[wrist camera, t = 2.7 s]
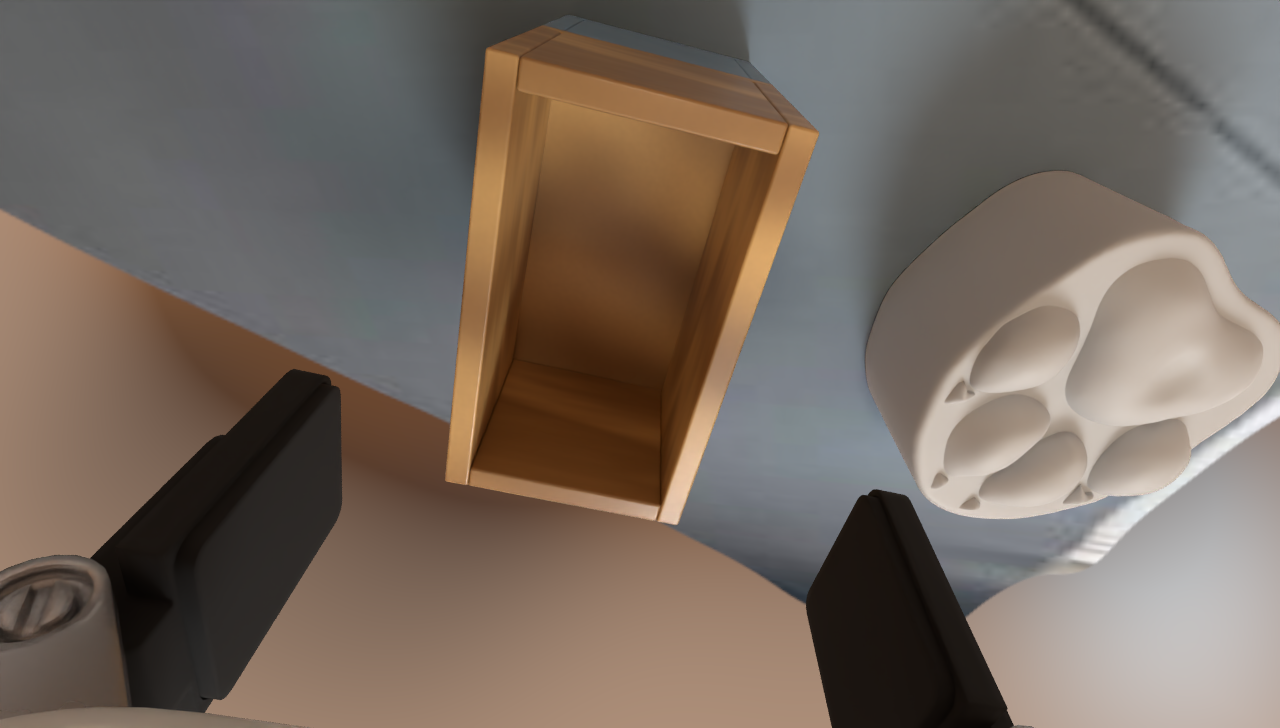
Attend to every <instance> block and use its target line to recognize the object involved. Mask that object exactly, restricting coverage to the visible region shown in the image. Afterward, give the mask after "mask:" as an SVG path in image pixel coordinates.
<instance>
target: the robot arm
mask: <svg viewBox="0 0 1280 728" xmlns="http://www.w3.org/2000/svg"><path fill="white" fill-rule="evenodd" d="M340 395H341V394H340V389H339V388H338V387H336V386H331V380H330V378H329V377H328V376H325V375H320V374H315V373H311V372H306V371H301V370H296V369H293V370H290V371H289V372H288V373H286V374H285V375H284V376H283V377H282V378H281V379H280V380H279V381H278V382H277V383H276V384H275V385H274V386H273V388H271V389H270V390H269V391H268V392H267V393H266V394H265V395H264V396H263V397H262V398H261V399H260V401H259V402H258V403H257V404H256V405H255V406H254V407H253V408H252V409H251V410H250V411H249V412H248V413H247V414H246V415H245V416H244V417H243V418H242V419H241V420H240V421H239V422H238V423H237V424H236V425H235V426H234V427H233V428H232V429H231V430H230V431H229V432H228V433H227V434H226V435H220V436H216V437H214V438H213V439H211V440H210V441H209V442H207V443H206V444H205V445H204V446H203V447H202V448H201V449H200V450H199V451H198V452H197V453H196V454H195V455H194V456H193V457H192V458H191V459H190V460H189V461H188V462H187V463H186V464H185V465H184V466H183V467H182V468H181V469H180V470H179V471H178V472H177V473H176V474H175V475H174V476H173V477H172V478H171V479H170V480H169V481H168V482H167V483H166V484H165V485H164V486H163V487H162V488H161V489H160V490H159V491H158V492H157V493H156V494H155V495H154V496H153V497H152V498H151V499H149V501H148V502H147V503H146V504H144V506H142V507H141V508H140V509H139V510H138V511H137V512H136V513H135V514H134V515H133V516H132V517H131V518H130V519H129V520H128V521H127V522H126V523H125V524H124V525H123V526H122V527H121V528H120V529H119V530H118V531H117V532H116V533H115V534H114V535H113V536H112V537H111V538H110V539H109V540H108V541H107V542H106V543H105V544H104V545H103V546H102V547H101V548H100V549H99V550H98V551H97V552H96V553H95V554H94V555H93V556H92V557H91V558H90V559H89V558H85V557H81V556H78V555H54V556H48V557H42V558H36V559H31V560H28V561H26V562H23V563H20V564H17V565H14V566H11V567H8V568H6V569H4V570H3V571H1V572H0V728H308V727H301V726H293V725H287V724H280V723H273V722H265V721H259V720H251V719H244V718H237V717H230V716H223V715H216V714H209V713H205V711H206V710H207V708H208V707H209V705H210V704H211V702H212V700H213V699H217V700H222V699H224V698H225V697H226V696H227V695H228V694H229V692H230V691H231V690H232V688H233V686H234V685H235V683H236V682H237V680H238V678H239V677H240V675H241V674H242V672H243V671H244V669H245V667H246V666H247V664H248V662H249V661H250V659H251V657H252V656H253V654H254V653H255V651H256V650H257V648H258V646H259V645H260V643H261V641H262V640H263V638H264V637H265V635H266V634H267V632H268V630H269V629H270V627H271V626H272V624H273V622H274V621H275V619H276V617H277V616H278V614H279V613H280V611H281V609H282V608H283V606H284V605H285V603H286V601H287V600H288V598H289V597H290V595H291V593H292V592H293V590H294V589H295V587H296V585H297V584H298V582H299V581H300V579H301V577H302V576H303V574H304V572H305V571H306V569H307V568H308V566H309V564H310V563H311V561H312V560H313V558H314V556H315V555H316V553H317V552H318V550H319V548H320V547H321V545H322V544H323V542H324V540H325V539H326V537H327V536H328V534H329V532H330V530H331V529H332V528H333V526H334V524H335V523H336V521H337V518H338V516H339V513H340V510H341V505H342V468H341V467H342V465H341V396H340ZM806 610H807V616H808V620H809V625H810V629H811V634H812V639H813V643H814V647H815V652H816V657H817V661H818V666H819V670H820V675H821V680H822V684H823V689H824V693H825V698H826V703H827V707H828V712H829V716H830V721H831V725H832V728H1034V727H1031V726H1020V725H1017V726H1014V725H1013V723H1012V721H1011V719H1010V716H1009V714H1008V712H1007V706H1006V704H1005V702H1004V700H1003V698H1002V695H1001V693H1000V691H999V689H998V687H997V685H996V683H995V681H994V678H993V676H992V674H991V672H990V670H989V668H988V666H987V663H986V661H985V659H984V657H983V655H982V653H981V651H980V648H979V646H978V644H977V642H976V640H975V638H974V636H973V634H972V631H971V629H970V627H969V625H968V623H967V621H966V618H965V616H964V614H963V612H962V610H961V608H960V606H959V604H958V601H957V599H956V597H955V595H954V593H953V591H952V589H951V586H950V584H949V582H948V580H947V578H946V576H945V574H944V571H943V569H942V567H941V565H940V563H939V561H938V559H937V557H936V554H935V552H934V550H933V548H932V546H931V544H930V542H929V539H928V537H927V535H926V533H925V531H924V529H923V527H922V524H921V522H920V520H919V518H918V516H917V514H916V512H915V510H914V507H913V505H912V503H911V501H910V500H909V498H908V497H907V496H905V495H901V494H897V493H892V492H887V491H882V490H877V489H876V490H872V491H871V492H870V493H869V494H868V496H867V495H862V496H860V497H859V498H858V500H857V502H856V503H855V505H854V507H853V509H852V511H851V513H850V515H849V517H848V518H847V520H846V522H845V524H844V526H843V528H842V530H841V532H840V533H839V535H838V537H837V539H836V541H835V543H834V545H833V547H832V548H831V550H830V552H829V554H828V556H827V558H826V560H825V562H824V563H823V565H822V567H821V569H820V571H819V573H818V575H817V577H816V578H815V580H814V582H813V584H812V586H811V588H810V590H809V592H808V595H807V601H806Z"/></svg>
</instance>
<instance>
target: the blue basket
mask: <svg viewBox="0 0 1280 728" xmlns="http://www.w3.org/2000/svg"><path fill="white" fill-rule="evenodd" d="M544 26H548V27H552V28H556V29H560V30H564V31H568V32H571V33H575V34H579V35H583V36H587V37H591V38H595V39H598V40H602V41H606V42H610V43H614V44H618V45H622V46H626V47H629V48H633V49H637V50H641V51H645V52H649V53H653V54H656V55H660V56H664V57H668V58H672V59H676V60H680V61H684V62H687V63H691V64H695V65H699V66H703V67H707V68H711V69H715V70H718V71H722V72H726V73H730V74H734V75H738V76H742V77H745V78H749V79H753V80H757V81H761V82H765V83H769V84H771V83H770V82H769V81H768V80H767V79H766V78H765V77H764V76H763V75H762V74H761V73H760V72H759V71H758V70H757V69H756V68H755V67H754V66H753V65H752V64H751V63H750V62H748V61H744V60H741V59H737V58H733V57H729V56H725V55H721V54H718V53H714V52H710V51H706V50H702V49H698V48H695V47H691V46H687V45H683V44H679V43H675V42H672V41H668V40H664V39H660V38H656V37H652V36H649V35H645V34H641V33H637V32H633V31H629V30H626V29H622V28H618V27H614V26H610V25H606V24H603V23H599V22H595V21H591V20H587V19H583V18H580V17H576V16H572V15H566V16H564V17H561V18H559V19H556V20H554V21H551V22H549V23H547V24H544Z"/></svg>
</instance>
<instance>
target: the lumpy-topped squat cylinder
mask: <svg viewBox="0 0 1280 728" xmlns="http://www.w3.org/2000/svg"><path fill="white" fill-rule="evenodd" d="M865 368H866V378H867V383H868V387H869V390H870V392H871V395H872V397H873V399H874V401H875V403H876V405H877V407H878V409H879V411H880V413H881V415H882V417H883V419H884V421H885V423H886V425H887V427H888V429H889V431H890V433H891V435H892V437H893V439H894V441H895V443H896V445H897V447H898V449H899V451H900V453H901V455H902V457H903V459H904V461H905V463H906V465H907V467H908V469H909V470H910V472H911V474H912V476H913V478H914V480H915V482H916V484H917V486H918V488H919V489H920V491H921V492H922V494H923V495H924V496H925V497H926V498H927V499H928V500H929V501H931V502H932V503H933V504H935V505H936V506H938V507H940V508H941V509H944V510H946V511H949V512H952V513H955V514H958V515H963V516H969V517H976V518H991V519H1015V518H1025V517H1032V516H1037V515H1043V514H1048V513H1053V512H1057V511H1061V510H1065V509H1069V508H1073V507H1077V506H1081V505H1085V504H1089V503H1092V502H1095V501H1098V500H1100V499H1103V498H1105V497H1107V496H1109V495H1110V496H1136V495H1144V494H1149V493H1152V492H1155V491H1158V490H1160V489H1162V488H1164V487H1166V486H1167V485H1169V484H1171V483H1172V482H1173V481H1174V480H1176V479H1177V478H1178V477H1179V476H1180V475H1181V473H1182V472H1183V471H1184V470H1185V468H1186V467H1187V465H1188V463H1189V460H1190V457H1191V449H1192V448H1194V447H1195V446H1197V445H1198V444H1199V443H1201V442H1202V441H1203V440H1205V439H1206V438H1208V437H1209V436H1211V435H1212V434H1214V433H1216V432H1217V431H1219V430H1220V429H1222V428H1223V427H1225V426H1226V425H1227V424H1229V423H1230V422H1231V421H1233V420H1234V419H1236V418H1237V417H1239V416H1240V415H1241V414H1243V413H1244V412H1245V411H1246V410H1247V409H1249V408H1250V407H1251V406H1252V405H1253V404H1255V403H1256V402H1257V401H1258V400H1259V399H1261V398H1262V397H1263V396H1264V395H1265V393H1266V392H1267V391H1268V390H1269V388H1270V387H1271V385H1272V384H1273V383H1274V381H1275V379H1276V377H1277V375H1278V373H1279V371H1280V323H1279V322H1278V321H1277V320H1276V319H1275V317H1274V316H1273V315H1271V314H1270V313H1269V312H1268V311H1266V310H1265V309H1263V308H1262V307H1260V306H1259V305H1258V304H1256V303H1255V302H1253V301H1252V300H1250V299H1249V298H1248V297H1246V296H1245V295H1244V294H1243V293H1242V292H1241V291H1240V290H1239V289H1238V287H1237V286H1236V284H1235V283H1234V281H1233V279H1232V277H1231V275H1230V273H1229V270H1228V268H1227V266H1226V264H1225V261H1224V258H1223V257H1222V255H1221V253H1220V252H1219V250H1218V249H1217V247H1216V246H1215V245H1214V243H1213V242H1212V241H1211V240H1210V239H1209V238H1207V237H1206V236H1205V235H1204V234H1202V233H1200V232H1198V231H1196V230H1194V229H1192V228H1190V227H1187V226H1185V225H1183V224H1181V223H1179V222H1177V221H1176V220H1174V219H1172V218H1170V217H1168V216H1166V215H1163V214H1161V213H1159V212H1157V211H1155V210H1153V209H1151V208H1148V207H1146V206H1144V205H1142V204H1140V203H1138V202H1135V201H1133V200H1131V199H1129V198H1127V197H1125V196H1123V195H1121V194H1119V193H1117V192H1115V191H1112V190H1110V189H1108V188H1106V187H1104V186H1102V185H1100V184H1098V183H1096V182H1094V181H1092V180H1090V179H1087V178H1085V177H1083V176H1081V175H1079V174H1077V173H1074V172H1069V171H1048V172H1042V173H1037V174H1033V175H1030V176H1027V177H1024V178H1022V179H1019V180H1017V181H1015V182H1013V183H1011V184H1009V185H1007V186H1006V187H1004V188H1002V189H1001V190H999V191H998V192H996V193H995V194H993V195H992V196H990V197H989V198H988V199H986V200H985V201H984V202H982V203H981V204H980V205H979V206H977V207H976V208H975V209H973V210H972V211H971V212H970V213H968V214H967V215H966V216H964V217H963V218H962V219H960V220H959V221H958V222H957V223H955V224H954V225H953V226H952V227H950V228H949V229H948V230H947V231H946V232H945V233H943V234H942V235H941V236H940V237H939V238H938V239H937V240H935V241H934V242H933V243H932V244H931V245H930V246H929V247H928V248H927V249H926V250H925V251H924V252H923V253H922V254H921V255H919V256H918V257H917V258H916V259H915V260H914V261H913V262H912V263H911V264H910V265H909V266H908V267H907V268H906V270H905V271H904V272H903V273H902V274H901V275H900V276H899V277H898V278H897V280H896V281H895V282H894V283H893V285H892V286H891V287H890V289H889V290H888V292H887V294H886V296H885V298H884V300H883V302H882V304H881V306H880V309H879V311H878V314H877V316H876V319H875V321H874V324H873V327H872V330H871V333H870V336H869V339H868V343H867V348H866V355H865Z"/></svg>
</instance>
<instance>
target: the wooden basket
mask: <svg viewBox="0 0 1280 728" xmlns="http://www.w3.org/2000/svg"><path fill="white" fill-rule="evenodd" d="M818 136H819V132H818V131H817V130H816V129H815V128H814V127H813V126H812V125H811V124H810V123H809V122H808V121H807V120H806V119H805V118H804V117H803V116H802V115H801V113H800V112H799V111H798V110H797V109H796V108H795V107H794V106H793V105H792V104H791V103H790V102H789V101H788V100H787V99H786V98H785V97H784V96H783V95H782V94H781V93H780V92H779V91H778V90H777V89H776V88H775V87H774V86H773V85H772V84H769V83H765V82H761V81H757V80H753V79H749V78H745V77H742V76H738V75H734V74H730V73H726V72H722V71H718V70H715V69H711V68H707V67H703V66H699V65H695V64H691V63H687V62H684V61H680V60H676V59H672V58H668V57H664V56H660V55H656V54H653V53H649V52H645V51H641V50H637V49H633V48H629V47H626V46H622V45H618V44H614V43H610V42H606V41H602V40H598V39H595V38H591V37H587V36H583V35H579V34H575V33H571V32H568V31H564V30H560V29H556V28H552V27H548V26H544V25H542V26H539V27H537V28H534V29H532V30H529V31H527V32H524V33H522V34H520V35H517V36H515V37H512V38H510V39H507V40H505V41H502V42H500V43H498V44H495V45H493V46H490V47H488V48H487V49H486V53H485V64H484V74H483V85H482V95H481V106H480V116H479V127H478V137H477V148H476V159H475V169H474V180H473V190H472V201H471V211H470V222H469V232H468V243H467V253H466V264H465V274H464V285H463V295H462V306H461V316H460V327H459V337H458V348H457V358H456V369H455V380H454V390H453V401H452V411H451V422H450V432H449V443H448V453H447V464H446V475H445V480H446V481H448V482H454V483H458V484H464V485H467V484H468V483H469V485H471V486H476V487H480V488H486V489H491V490H496V491H501V492H506V493H512V494H518V495H522V496H528V497H533V498H538V499H543V500H548V501H553V502H559V503H564V504H569V505H574V506H580V507H585V508H590V509H595V510H601V511H606V512H611V513H616V514H621V515H627V516H632V517H637V518H642V519H648V520H653V521H654V520H656V519H657V521H658V522H663V523H668V524H673V525H677V524H678V523H679V520H680V518H681V515H682V512H683V509H684V507H685V504H686V501H687V498H688V495H689V493H690V490H691V487H692V484H693V482H694V479H695V476H696V473H697V471H698V468H699V465H700V462H701V460H702V457H703V454H704V451H705V448H706V446H707V443H708V440H709V437H710V435H711V432H712V429H713V426H714V424H715V421H716V418H717V415H718V413H719V410H720V407H721V404H722V401H723V399H724V396H725V393H726V390H727V388H728V385H729V382H730V379H731V377H732V374H733V371H734V368H735V365H736V363H737V360H738V357H739V354H740V352H741V349H742V346H743V343H744V341H745V338H746V335H747V332H748V330H749V327H750V324H751V321H752V318H753V316H754V313H755V310H756V307H757V305H758V302H759V299H760V296H761V294H762V291H763V288H764V285H765V283H766V280H767V277H768V274H769V271H770V269H771V266H772V263H773V260H774V258H775V255H776V252H777V249H778V247H779V244H780V241H781V238H782V235H783V233H784V230H785V227H786V224H787V222H788V219H789V216H790V213H791V211H792V208H793V205H794V202H795V200H796V197H797V194H798V191H799V188H800V186H801V183H802V180H803V177H804V175H805V172H806V169H807V166H808V164H809V161H810V158H811V155H812V153H813V150H814V147H815V144H816V141H817V139H818Z"/></svg>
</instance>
